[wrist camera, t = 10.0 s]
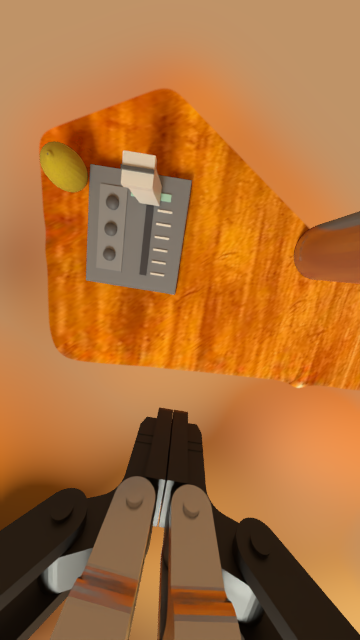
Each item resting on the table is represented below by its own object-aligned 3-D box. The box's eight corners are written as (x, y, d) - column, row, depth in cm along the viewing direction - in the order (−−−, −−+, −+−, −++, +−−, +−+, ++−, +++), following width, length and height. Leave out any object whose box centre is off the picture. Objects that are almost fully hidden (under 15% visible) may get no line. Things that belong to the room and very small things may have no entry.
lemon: (72, 154, 33) (36, 118, 25) (101, 175, 33) (76, 145, 26) (57, 186, 34) (19, 161, 26) (86, 206, 35) (57, 187, 27)
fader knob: (164, 184, 31) (155, 154, 23) (161, 208, 32) (152, 187, 24) (139, 180, 31) (121, 148, 23) (137, 204, 32) (119, 182, 24)
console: (191, 185, 33) (191, 178, 31) (175, 293, 38) (174, 295, 35) (95, 170, 33) (88, 162, 31) (91, 279, 38) (84, 280, 35)
